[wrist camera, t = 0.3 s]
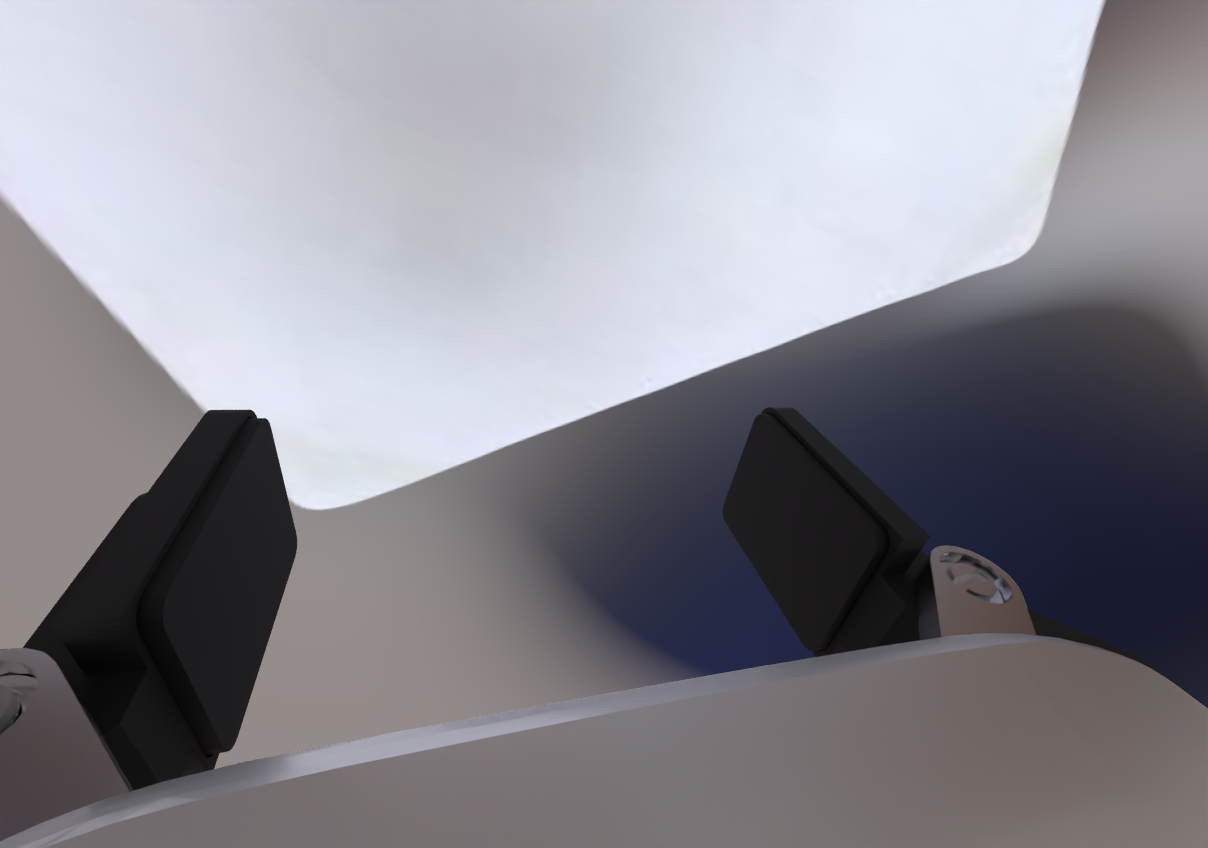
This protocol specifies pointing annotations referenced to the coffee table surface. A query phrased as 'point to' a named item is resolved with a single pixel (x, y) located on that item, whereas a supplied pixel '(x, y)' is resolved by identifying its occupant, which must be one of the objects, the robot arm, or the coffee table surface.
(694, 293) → the coffee table surface
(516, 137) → the coffee table surface
